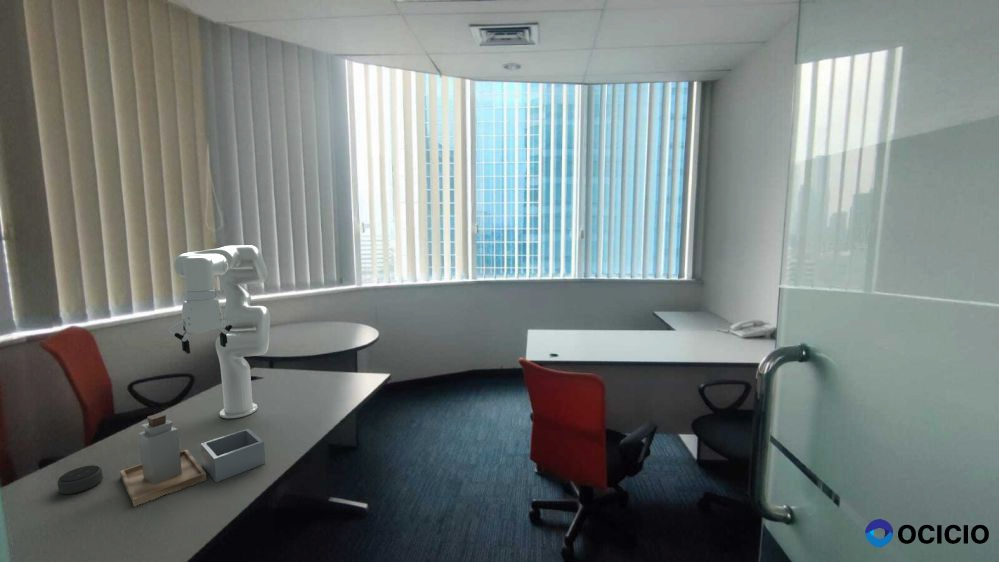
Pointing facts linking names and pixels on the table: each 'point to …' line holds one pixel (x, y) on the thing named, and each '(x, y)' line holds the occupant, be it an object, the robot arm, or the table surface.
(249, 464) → the grey storage bin
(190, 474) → the tray
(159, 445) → the perfume bottle
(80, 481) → the smart speaker
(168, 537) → the table surface
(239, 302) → the robot arm
